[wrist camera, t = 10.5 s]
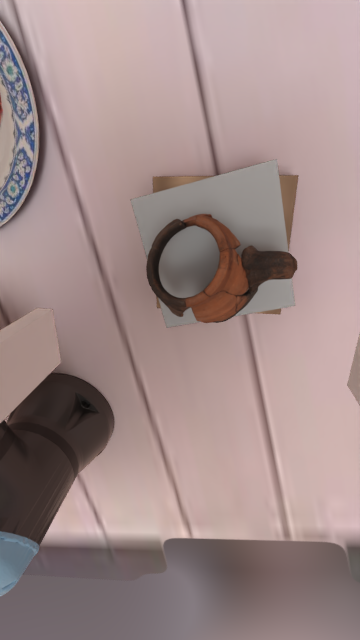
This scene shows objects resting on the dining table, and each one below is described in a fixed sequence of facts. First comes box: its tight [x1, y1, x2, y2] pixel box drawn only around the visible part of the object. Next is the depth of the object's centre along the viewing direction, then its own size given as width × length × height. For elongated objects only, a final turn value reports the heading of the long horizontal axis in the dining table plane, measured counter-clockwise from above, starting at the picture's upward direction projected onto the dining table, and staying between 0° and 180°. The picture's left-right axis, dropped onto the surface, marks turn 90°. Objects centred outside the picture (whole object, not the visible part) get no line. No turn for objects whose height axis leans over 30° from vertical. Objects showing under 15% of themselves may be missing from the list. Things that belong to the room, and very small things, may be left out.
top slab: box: [131, 159, 295, 328], centre depth 31 cm, size 13×13×4 cm
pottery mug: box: [146, 214, 297, 323], centre depth 27 cm, size 12×10×8 cm
